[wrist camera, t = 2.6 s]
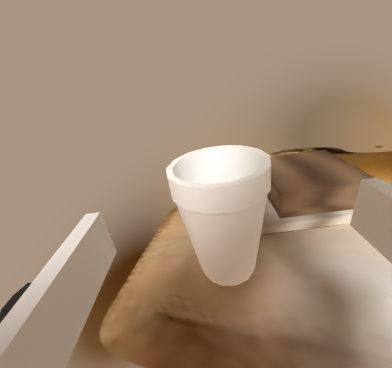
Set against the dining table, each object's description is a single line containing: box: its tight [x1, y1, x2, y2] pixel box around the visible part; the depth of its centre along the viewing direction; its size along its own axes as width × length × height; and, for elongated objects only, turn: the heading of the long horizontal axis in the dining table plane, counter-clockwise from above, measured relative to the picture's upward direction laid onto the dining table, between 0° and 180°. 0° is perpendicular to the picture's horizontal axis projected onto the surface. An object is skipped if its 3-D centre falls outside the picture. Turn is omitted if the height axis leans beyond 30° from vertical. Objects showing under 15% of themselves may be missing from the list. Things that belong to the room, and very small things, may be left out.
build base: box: [261, 150, 374, 235], centre depth 33 cm, size 18×14×6 cm
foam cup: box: [166, 145, 271, 286], centre depth 22 cm, size 10×9×13 cm
